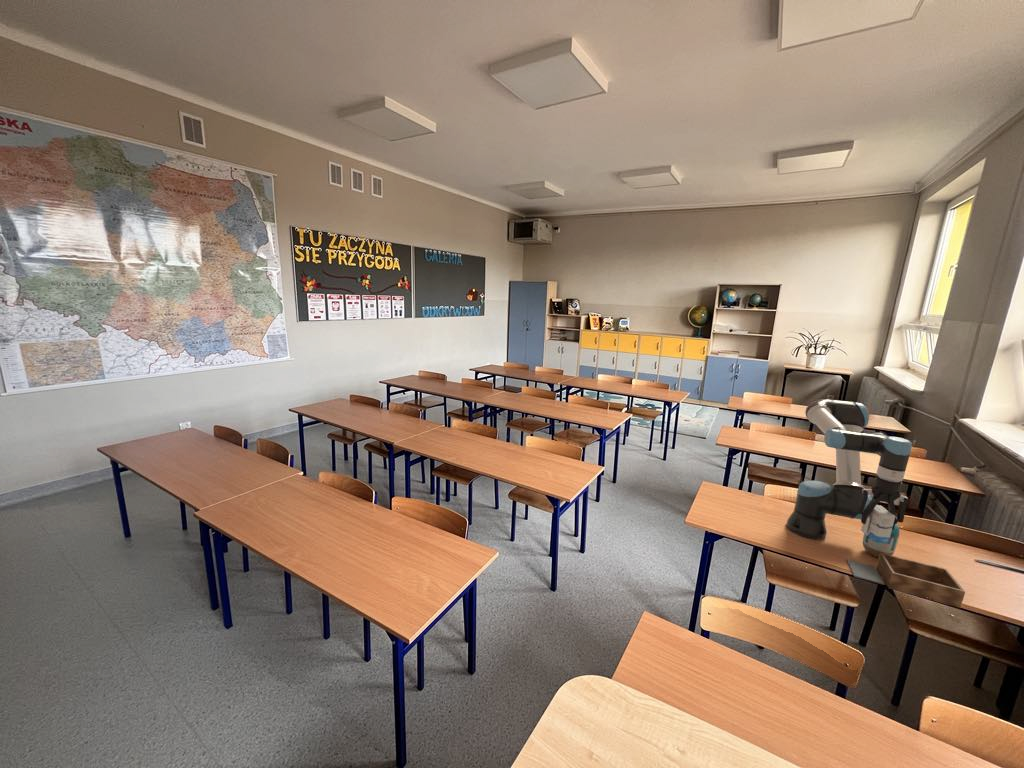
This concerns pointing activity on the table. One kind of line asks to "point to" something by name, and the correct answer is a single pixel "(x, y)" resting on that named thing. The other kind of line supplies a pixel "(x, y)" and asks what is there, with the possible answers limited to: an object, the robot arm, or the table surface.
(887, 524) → the ink box
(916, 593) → the crate
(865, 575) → the zone pad
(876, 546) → the vase
